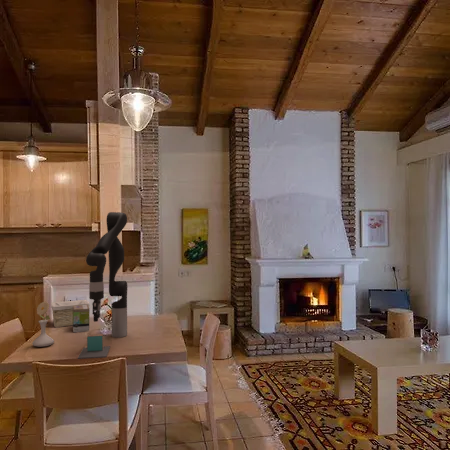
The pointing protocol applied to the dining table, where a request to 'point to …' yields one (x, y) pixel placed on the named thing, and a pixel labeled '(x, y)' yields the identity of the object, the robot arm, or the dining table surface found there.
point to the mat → (94, 353)
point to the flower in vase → (43, 327)
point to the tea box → (81, 318)
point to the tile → (95, 342)
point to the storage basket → (65, 312)
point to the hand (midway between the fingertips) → (96, 319)
